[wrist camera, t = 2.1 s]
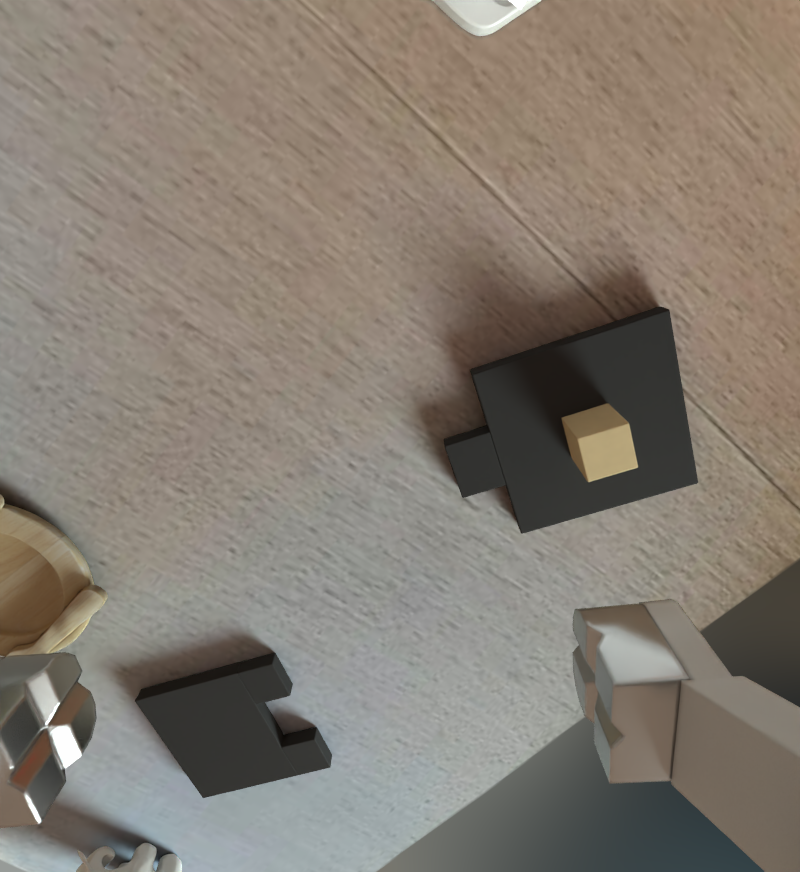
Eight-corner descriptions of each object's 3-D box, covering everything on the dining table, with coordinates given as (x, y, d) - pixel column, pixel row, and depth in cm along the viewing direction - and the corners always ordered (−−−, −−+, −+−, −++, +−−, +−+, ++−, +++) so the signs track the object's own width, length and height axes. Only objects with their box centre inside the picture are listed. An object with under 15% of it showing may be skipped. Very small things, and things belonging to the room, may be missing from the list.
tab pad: (660, 305, 33) (699, 320, 29) (690, 475, 38) (727, 509, 33) (424, 384, 35) (427, 408, 31) (477, 537, 40) (486, 577, 35)
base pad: (275, 652, 44) (272, 663, 43) (332, 754, 48) (330, 767, 47) (141, 689, 45) (134, 701, 44) (207, 785, 50) (203, 798, 49)
